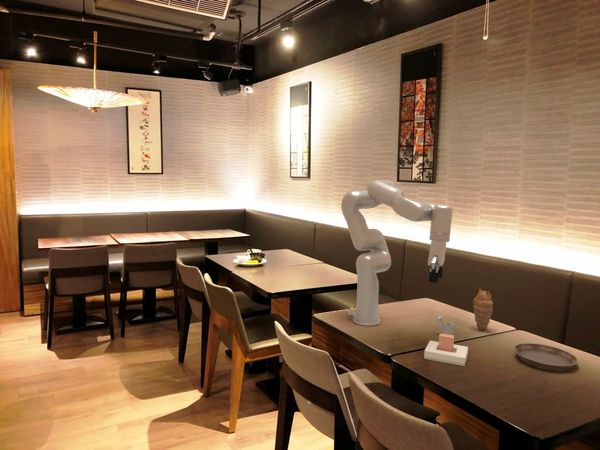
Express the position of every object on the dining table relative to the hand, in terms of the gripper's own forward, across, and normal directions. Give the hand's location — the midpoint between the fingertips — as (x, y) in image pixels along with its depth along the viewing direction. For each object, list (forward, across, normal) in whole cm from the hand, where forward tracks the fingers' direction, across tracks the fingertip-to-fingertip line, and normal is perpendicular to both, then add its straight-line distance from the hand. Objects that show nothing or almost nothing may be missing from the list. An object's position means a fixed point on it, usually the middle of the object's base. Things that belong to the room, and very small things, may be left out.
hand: (435, 279), depth 183 cm
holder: (+26, +12, +8) cm, 29 cm away
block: (+25, +12, +8) cm, 28 cm away
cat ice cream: (+26, -28, +17) cm, 42 cm away
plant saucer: (+25, -2, +41) cm, 48 cm away
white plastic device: (+26, -13, +4) cm, 30 cm away
